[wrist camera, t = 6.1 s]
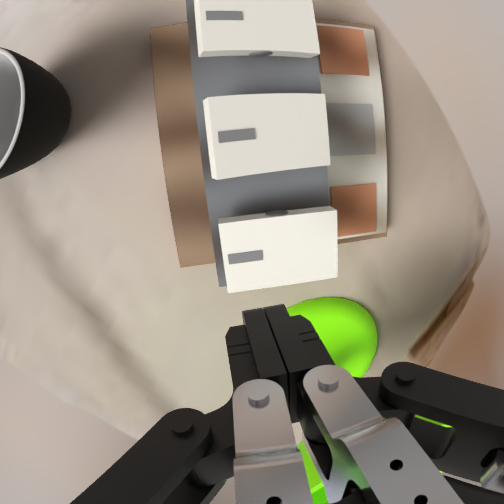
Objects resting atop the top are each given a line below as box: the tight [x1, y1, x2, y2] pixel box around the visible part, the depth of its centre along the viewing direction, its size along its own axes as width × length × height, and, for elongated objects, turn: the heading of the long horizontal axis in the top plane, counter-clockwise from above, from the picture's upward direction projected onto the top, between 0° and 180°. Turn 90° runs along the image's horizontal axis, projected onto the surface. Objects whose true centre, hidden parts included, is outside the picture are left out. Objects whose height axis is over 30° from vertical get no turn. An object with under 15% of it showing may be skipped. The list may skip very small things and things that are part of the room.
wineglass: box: [287, 297, 451, 504], centre depth 25 cm, size 16×16×18 cm
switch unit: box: [150, 0, 388, 287], centre depth 22 cm, size 20×19×6 cm
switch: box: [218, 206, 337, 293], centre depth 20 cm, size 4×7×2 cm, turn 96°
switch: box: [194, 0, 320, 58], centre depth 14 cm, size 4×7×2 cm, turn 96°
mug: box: [0, 48, 71, 179], centre depth 16 cm, size 12×9×10 cm
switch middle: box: [203, 93, 330, 180], centre depth 17 cm, size 4×7×2 cm, turn 96°
